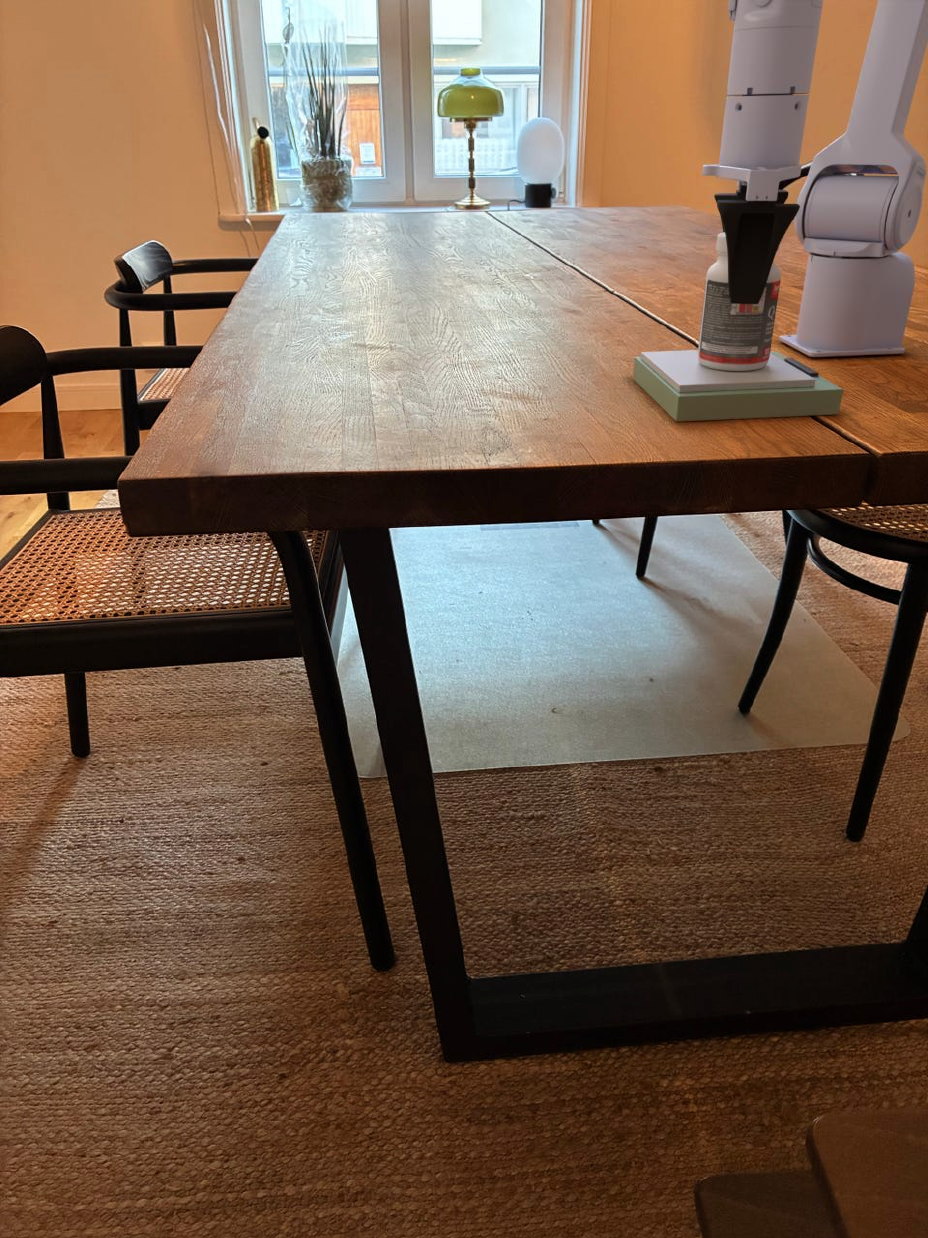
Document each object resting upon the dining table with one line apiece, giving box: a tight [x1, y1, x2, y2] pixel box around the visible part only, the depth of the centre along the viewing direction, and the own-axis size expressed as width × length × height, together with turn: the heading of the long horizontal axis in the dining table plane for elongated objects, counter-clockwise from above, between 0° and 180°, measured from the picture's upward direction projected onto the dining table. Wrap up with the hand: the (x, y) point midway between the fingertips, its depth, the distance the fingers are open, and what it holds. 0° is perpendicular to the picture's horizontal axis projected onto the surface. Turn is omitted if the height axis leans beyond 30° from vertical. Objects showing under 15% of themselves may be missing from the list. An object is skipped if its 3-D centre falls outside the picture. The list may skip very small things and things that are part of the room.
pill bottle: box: [697, 232, 782, 371], centre depth 71 cm, size 6×6×10 cm
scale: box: [632, 349, 844, 423], centre depth 74 cm, size 13×13×3 cm
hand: (741, 294), depth 71 cm, fingers open, 7 cm apart
